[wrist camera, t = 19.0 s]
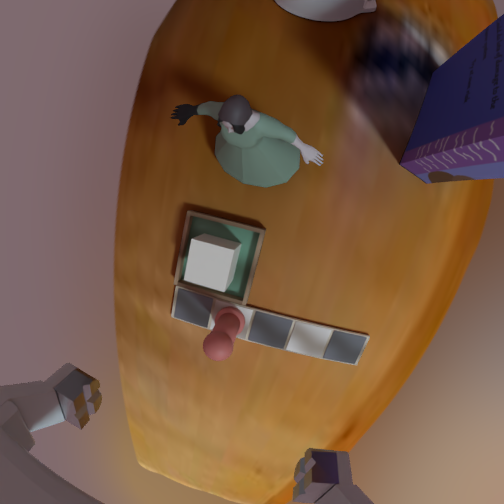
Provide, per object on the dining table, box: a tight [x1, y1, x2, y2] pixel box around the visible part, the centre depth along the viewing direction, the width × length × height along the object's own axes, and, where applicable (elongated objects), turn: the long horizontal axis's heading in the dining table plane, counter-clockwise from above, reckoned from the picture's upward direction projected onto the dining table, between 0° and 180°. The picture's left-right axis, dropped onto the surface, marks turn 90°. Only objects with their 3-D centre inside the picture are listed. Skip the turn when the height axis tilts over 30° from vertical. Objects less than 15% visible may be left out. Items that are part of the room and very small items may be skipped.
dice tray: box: [174, 210, 266, 306], centre depth 35 cm, size 10×10×2 cm
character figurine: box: [171, 95, 323, 187], centre depth 24 cm, size 16×8×18 cm, turn 67°
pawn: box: [203, 307, 245, 361], centre depth 32 cm, size 4×4×9 cm
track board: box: [171, 285, 370, 365], centre depth 37 cm, size 5×28×1 cm, turn 76°
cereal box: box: [399, 14, 504, 183], centre depth 17 cm, size 17×5×24 cm, turn 153°
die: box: [184, 233, 242, 292], centre depth 33 cm, size 5×5×5 cm
